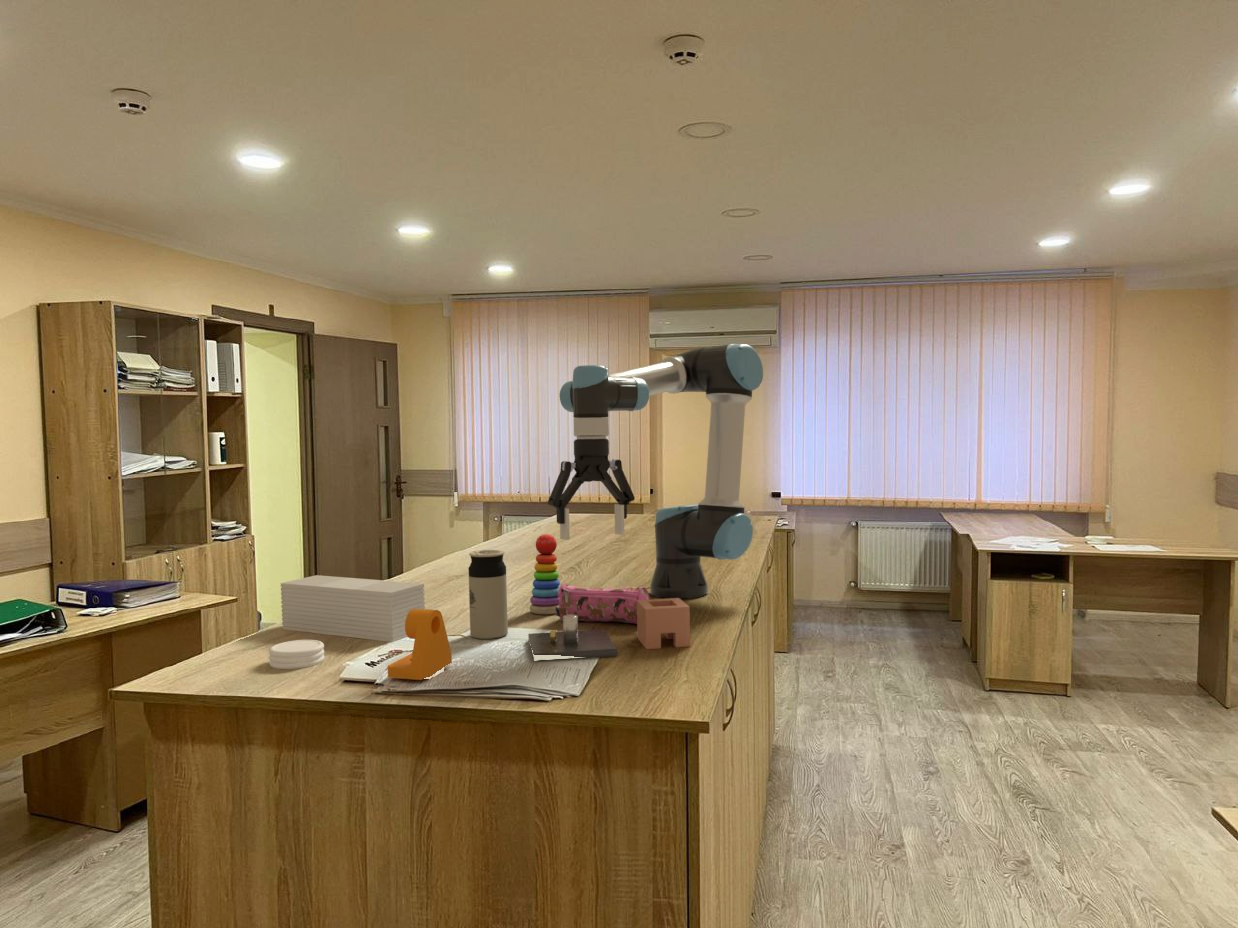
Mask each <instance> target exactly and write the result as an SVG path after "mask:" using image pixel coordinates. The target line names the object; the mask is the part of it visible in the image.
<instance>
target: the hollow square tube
mask: <svg viewBox="0 0 1238 928" xmlns="http://www.w3.org/2000/svg"><path fill="white" fill-rule="evenodd" d="M690 607H691V606H690V605H688V604H687V603H686V602H685V601H684V600H682V598H656V599H651V598H650V600H637V624H636V625H637V628H636V629H637V630H636V631H637V639H638V641H639V642H640V643H641V644H642V646H643V647H644V648H645V650H654V649H655V650H656V649H657V650H658V649H662V634H665V638H666V639H667V640H671V639H673V641H672V642H673V643H672V645H673V647H675V648H687V647H688V648H690V647H691V612H690V611H691V610H690Z"/></svg>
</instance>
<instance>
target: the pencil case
mask: <svg viewBox="0 0 1238 928" xmlns="http://www.w3.org/2000/svg"><path fill="white" fill-rule="evenodd" d="M559 597H560V598H559ZM558 598H559V608H557V607H556V608H555V611H556V613H555V616H557V617H559V619H560V620H562V621H563V616H564V615H577V616H578V622H604V623H605V622H606V623H607V622H611V623H612V622H618V623H625V624H636V625H637V600H651V598H650V592H649V591H648V590H647V588H646V587H645V586H642V585H640V586H637V587H631V586H630V587H627V586H626V587H621V588H614V587H606V588H605V587H603V588H602V587H579V586H576V585H572V584H569V583H566V582H564V583H562V584H560V586H559V591H558Z"/></svg>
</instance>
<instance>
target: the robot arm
mask: <svg viewBox="0 0 1238 928" xmlns="http://www.w3.org/2000/svg"><path fill="white" fill-rule="evenodd" d="M608 370H609V369H608V367H606V365H601V364H597V365H596V364H595V365H594V364H591V365H590V364H588V365H587V364H585V365H577V366H576V367H574V369H573V372H572V380H569V381H567V382H565V383H564V384H563V385H562V386H561V387H560V391H559V402H560V404H561V406H562V408H563V409H564V410H565V411H567V412H569V413H572V414H573V416H572V417H573V436H574V437H576V439H574V440H573V455H574V461H573V462H571V461H568V460H565V461H561V462H560V468H559V469H560V470H559V474H558V477H557V479H556V481H555V483H554V487H553V489H552V491H551V492H550V495H549V498H548V499H547V505H548V506H551V507H553V508H555V509H556V524H558V525H559V534H560V535H559V536H560V537H559V538H560V539H561V540H564V541H570V539H571V538H570V508H566V507H567V505H568V504H569V503H570V501H572V498H573V497H574V495H575V494H576V493H577V491H578V490H579V488H580V487H581V486H582V485H583V484H584V483H585V482H586V483H587V482H601V484H603V485H604V486H605V488H606V489H607V491H608V492H609V493H610V495H612V497H613V498H614V500H615V501H616V502H617V503H616V504H614V534H615V535H620V536H624V535H625V519H627V517H628V505H630V502H634V501H635V500H636V499H635V495H634V493H633V490H632V488H631V486H630V484H629V481H628V479H627V477H626V475H625V472H624V471H623V465H622V460H621V459H612V460H609V454H610V440H609V439H608V438H607V437H609V435H610V434H609V433H610V432H609V431H610V428H609V426H610V425H609V412H619V411H621V412H622V411H624V412H625V411H626V412H627V411H628V412H634V411H640V410H642V409H644V408H645V407H646V406H647V405H648V402H649V400H650V396H655V395H659V394H663V393H669V394H670V395H671V394H672V395H673V394H674V395H675V394H680V393H705V397H706V399H707V400H708V401H709V402H710V415H709V416H710V418H709V432H708V444H707V448H708V449H707V459H706V460H707V462H706V474H705V476H706V477H705V488H704V489H705V491H704V497H703V499H701V500H700V502H698V504H689V505H680V506H679V505H678V506H671V507H663V508H660V509H658V510H656V513H655V523H654V528H655V530H654V531H655V555H656V556H655V559H656V560H655V561H656V563H655V568H654V572H653V575H652V578H651V580H650V581H651V582H650V585H649V588H650V589H649V595H651V596H653V597H657V598H661V599H669V598H680V599H693V598H698V597H704V596H706V595H707V594H708V593H707V592H708V591H709V590H708V589H709V588H708V582H707V579H706V576H705V573H704V570H703V567H702V563H701V557H703V558H710V559H717V560H722V561H723V560H729V561H730V560H732V561H733V560H737V559H739V558H741V557H742V556H743V555H745V553H746V551H748V549H749V547H750V546H751V543H752V540H753V537H754V536H753V534H754V526H753V523H752V520H751V518H750V517H749V516H748V515H747V514H745V509H746V508H745V506H744V504H743V503H742V502H741V501H740V490H741V474H742V462H743V461H742V460H743V458H742V457H743V447H744V446H743V445H744V444H743V443H744V431H745V430H744V429H745V428H744V427H745V416H746V415H745V414H746V413H745V412H746V406H747V404H748V403H749V402H750V401H751V400H752V398H753V391H754V390H755V391H756V390H757V389H758V388H759V387H760V386H761V384H762V382H763V379H764V366H763V362H762V359H761V357H760V356H759V354H758V352H757V351H756V349H755V348H753V346H751V345H749V344H746V343H730V344H722V345H715V346H705V347H699V348H695V349H691V350H688V351H684V352H681V353H679V354H675V355H671V356H667V357H664V358H663V359H662V360H661V361H660V362H658V363H654V364H649V365H643V366H640V367H635V368H630V369H625V370H622V371H621V370H620V371H616V372H611V373H609V371H608ZM609 469H610V470H611V472H612V474H613V476H614V478H615V481H616V483H617V484H616V483H615V482H614V480H613V479H612V476H611V475H610V474H609V472H608V471H609ZM573 470H574V472H575V474H574V475H573V476H572V478H571V481H570V483H569V484H568V481H569V478H570V476H571V473H572V472H573ZM567 484H568V485H567ZM617 485H618V486H617ZM566 486H567V487H566ZM565 487H566V488H565ZM705 594H706V595H705ZM703 595H704V596H703Z"/></svg>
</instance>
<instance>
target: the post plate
mask: <svg viewBox="0 0 1238 928" xmlns="http://www.w3.org/2000/svg"><path fill="white" fill-rule="evenodd" d="M529 642H530V644H531V648H532V650H533V654H534V655H561V656H574V657H597V658H607V657H618V649H617V647H616V645H615V643H614V642H613V641H612V639H611V637H610V636H609V634H608V633H607V631H606V630H605V629H604V628H602V629H587V630H585V629H584V630H579V621H578V616H577V615H564V616H563V620H562V631H557V630H553V629H552V630H550V631H548V632H537V633H528V643H529ZM530 644H529V645H530ZM531 648H530V649H531Z"/></svg>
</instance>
